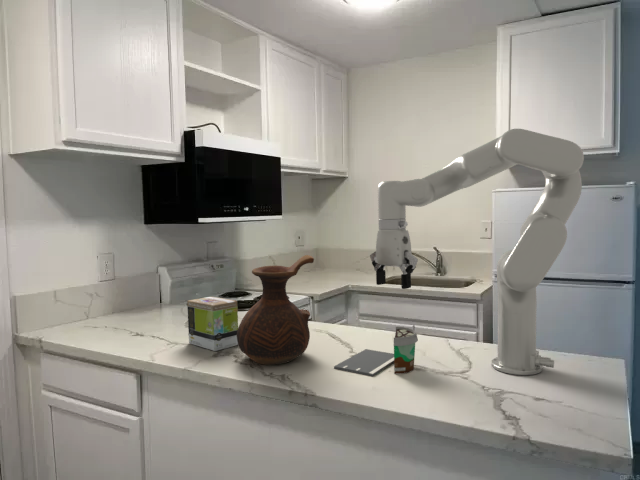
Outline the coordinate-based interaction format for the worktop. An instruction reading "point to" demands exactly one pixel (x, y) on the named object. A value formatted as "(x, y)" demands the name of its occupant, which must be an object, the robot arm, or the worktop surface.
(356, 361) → the mat
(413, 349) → the food container
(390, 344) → the worktop surface
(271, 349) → the jug
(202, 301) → the tea box
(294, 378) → the worktop surface
